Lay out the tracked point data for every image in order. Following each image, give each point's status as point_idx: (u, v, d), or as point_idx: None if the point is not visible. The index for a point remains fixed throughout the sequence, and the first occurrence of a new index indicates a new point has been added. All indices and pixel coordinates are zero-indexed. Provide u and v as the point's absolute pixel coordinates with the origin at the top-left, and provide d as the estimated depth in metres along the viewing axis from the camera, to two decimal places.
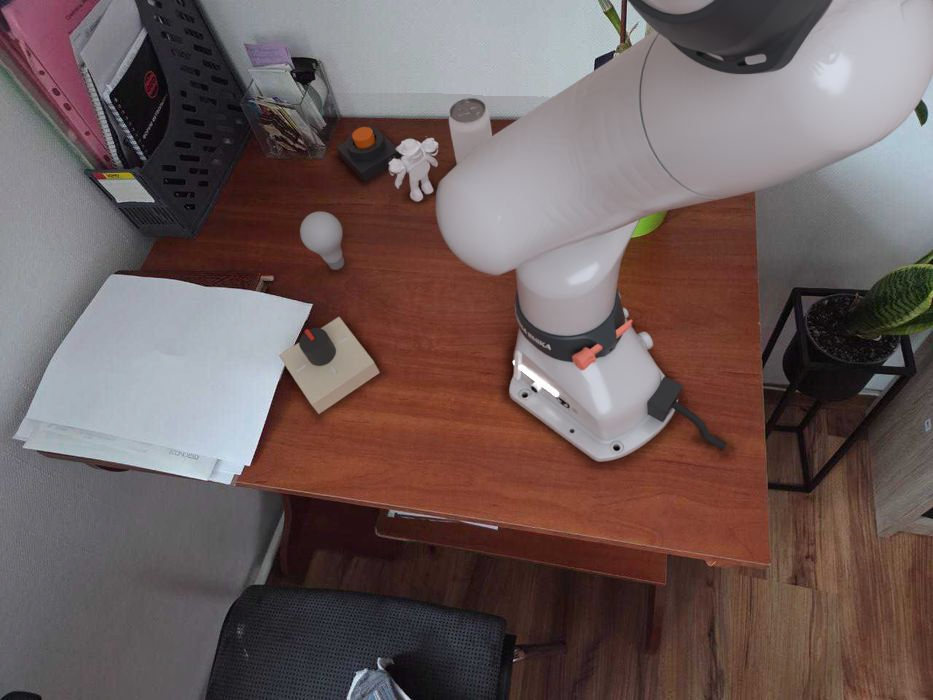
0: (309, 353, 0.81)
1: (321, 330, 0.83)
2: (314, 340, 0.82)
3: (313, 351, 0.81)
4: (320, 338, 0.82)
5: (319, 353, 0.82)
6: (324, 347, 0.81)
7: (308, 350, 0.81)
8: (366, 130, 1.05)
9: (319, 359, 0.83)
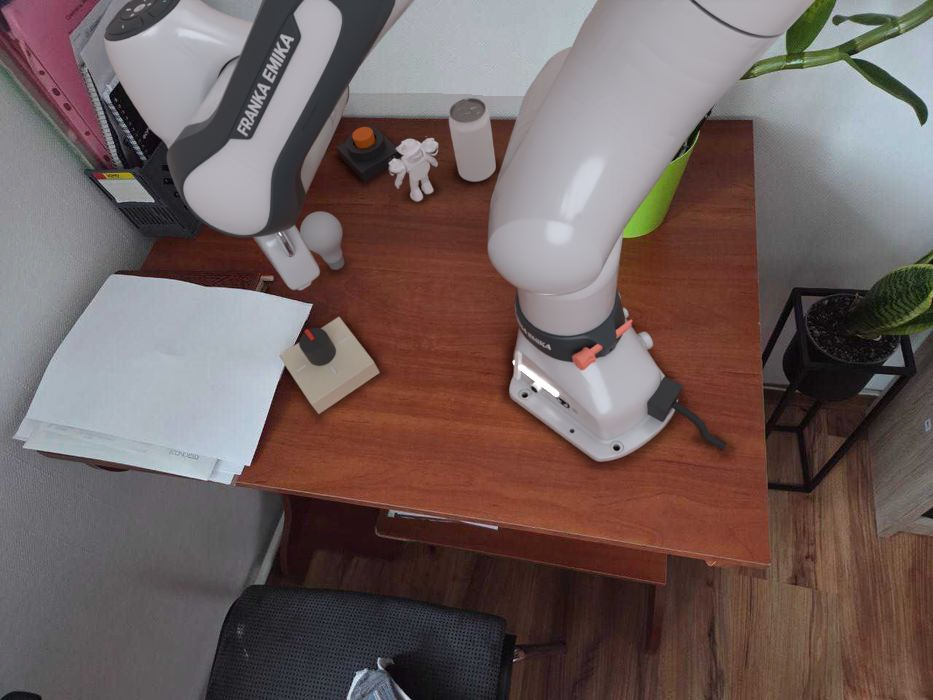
0: (309, 353, 0.81)
1: (321, 330, 0.83)
2: (314, 340, 0.82)
3: (313, 351, 0.81)
4: (320, 338, 0.82)
5: (319, 353, 0.82)
6: (324, 347, 0.81)
7: (308, 350, 0.81)
8: (366, 130, 1.05)
9: (319, 359, 0.83)
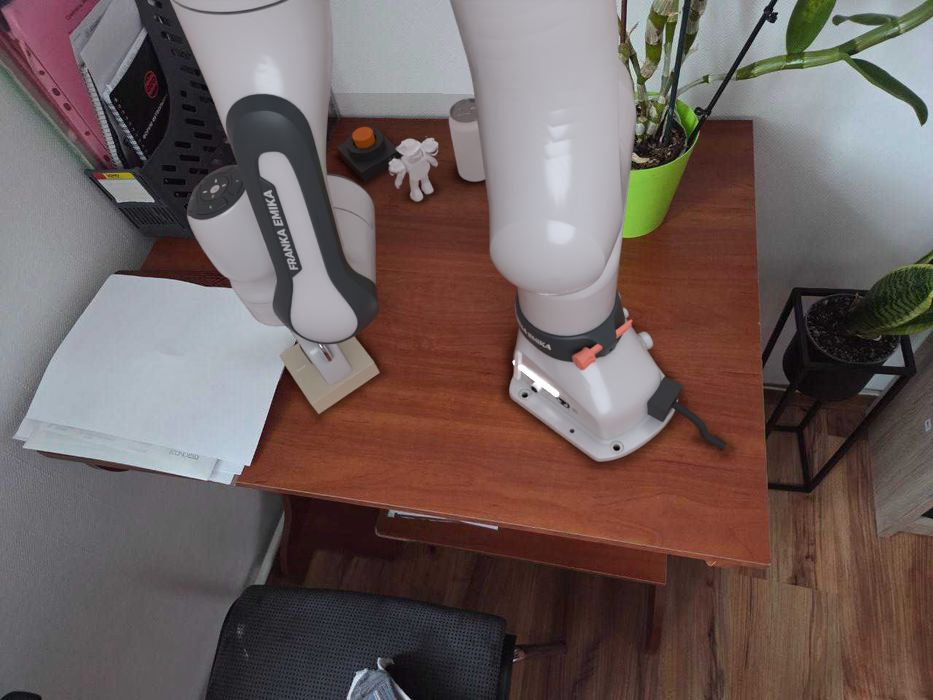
0: None
1: None
2: None
3: None
4: None
5: None
6: None
7: None
8: (366, 130, 1.05)
9: None
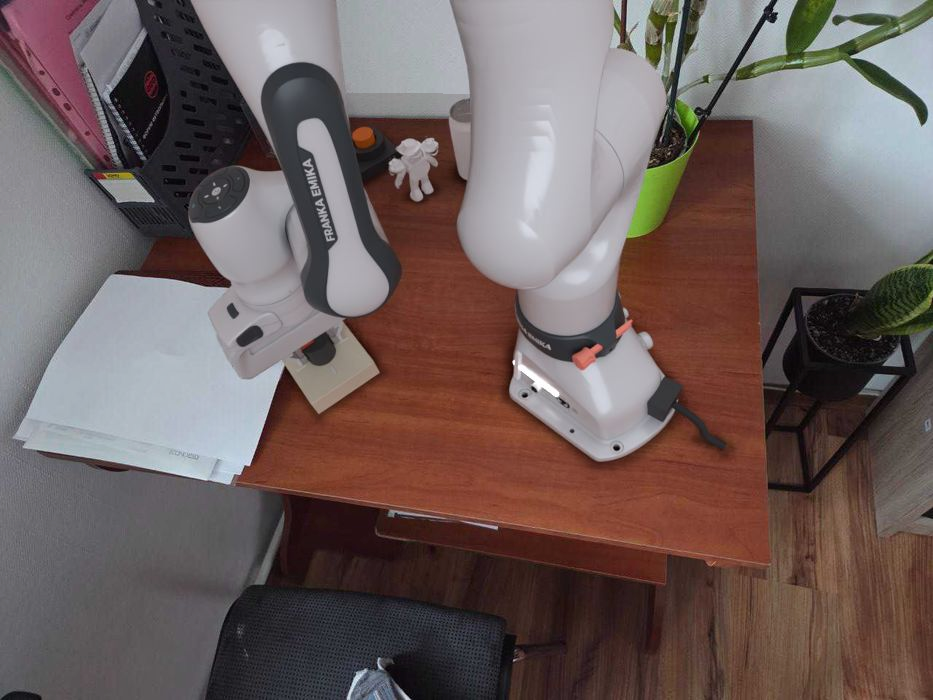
0: (327, 341, 0.82)
1: None
2: (313, 339, 0.82)
3: (326, 336, 0.82)
4: None
5: (328, 336, 0.83)
6: None
7: (324, 341, 0.82)
8: (366, 130, 1.05)
9: None
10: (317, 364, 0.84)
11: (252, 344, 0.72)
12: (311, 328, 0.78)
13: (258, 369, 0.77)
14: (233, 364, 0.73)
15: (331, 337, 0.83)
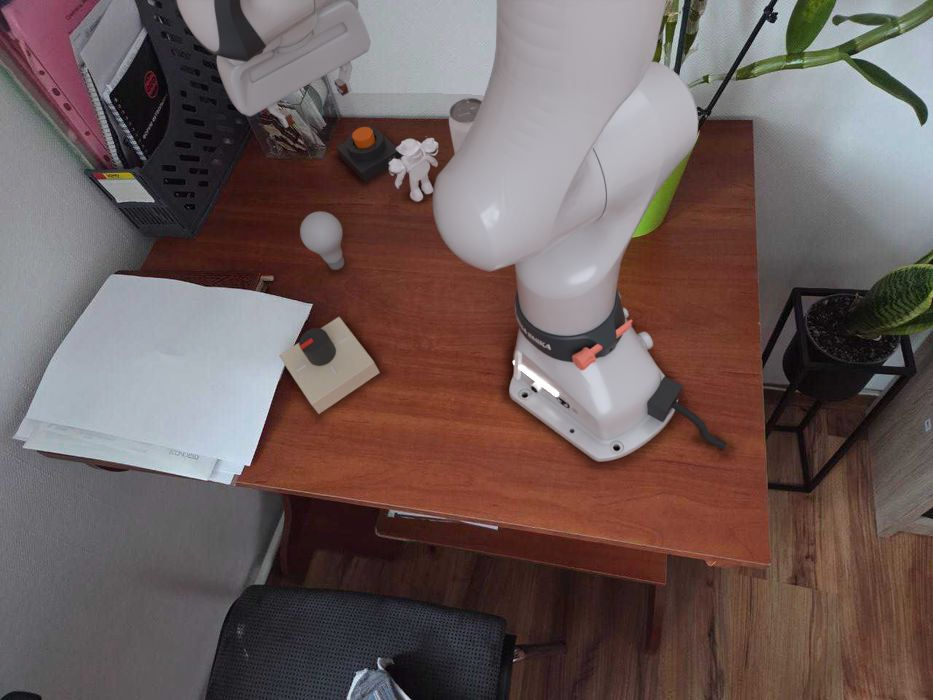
0: (327, 341, 0.82)
1: (303, 335, 0.83)
2: (313, 339, 0.82)
3: (326, 336, 0.82)
4: (312, 334, 0.83)
5: (328, 336, 0.83)
6: None
7: (324, 342, 0.82)
8: (366, 130, 1.05)
9: None
10: (317, 364, 0.84)
11: (252, 63, 0.74)
12: (309, 66, 0.80)
13: (258, 104, 0.79)
14: (234, 86, 0.75)
15: (340, 84, 0.86)
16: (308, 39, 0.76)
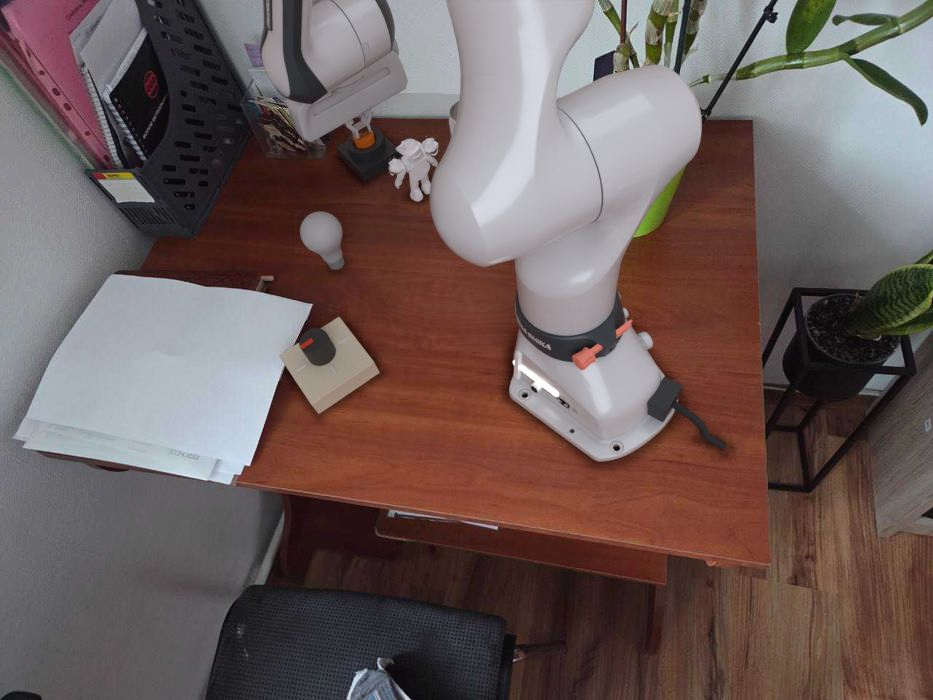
0: (327, 341, 0.82)
1: (303, 335, 0.83)
2: (313, 339, 0.82)
3: (326, 336, 0.82)
4: (312, 334, 0.83)
5: (328, 336, 0.83)
6: None
7: (324, 342, 0.82)
8: None
9: None
10: (317, 364, 0.84)
11: (316, 101, 0.93)
12: (358, 102, 0.99)
13: (317, 132, 0.98)
14: (300, 119, 0.94)
15: (362, 126, 1.04)
16: (359, 81, 0.95)
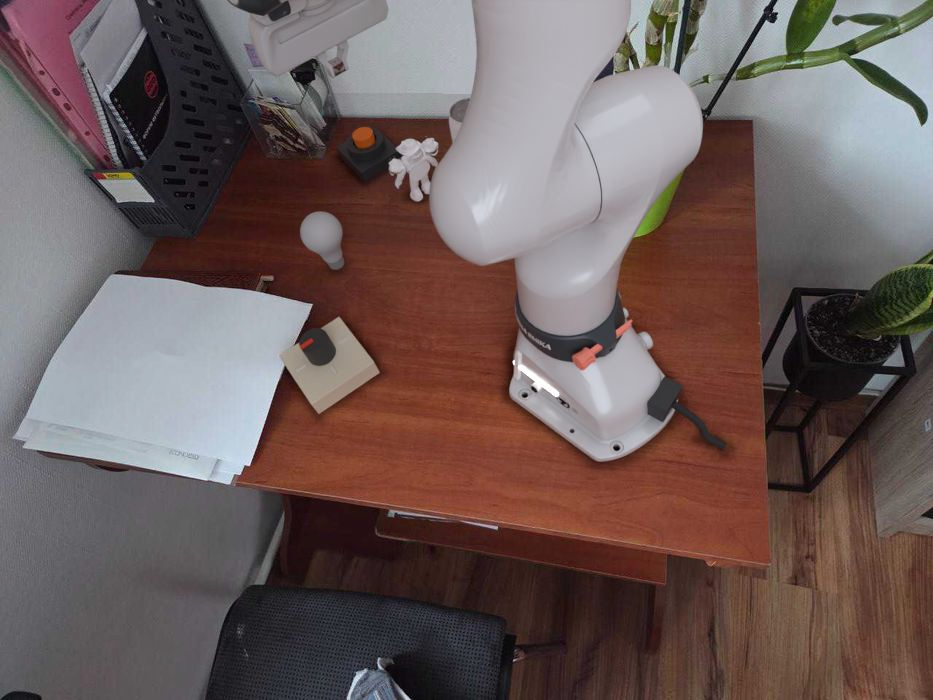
0: (327, 341, 0.82)
1: (303, 335, 0.83)
2: (313, 339, 0.82)
3: (326, 336, 0.82)
4: (312, 334, 0.83)
5: (328, 336, 0.83)
6: None
7: (324, 342, 0.82)
8: (366, 130, 1.05)
9: None
10: (317, 364, 0.84)
11: (280, 24, 0.81)
12: (331, 30, 0.87)
13: (284, 64, 0.86)
14: (263, 46, 0.82)
15: (337, 62, 0.92)
16: (331, 3, 0.83)
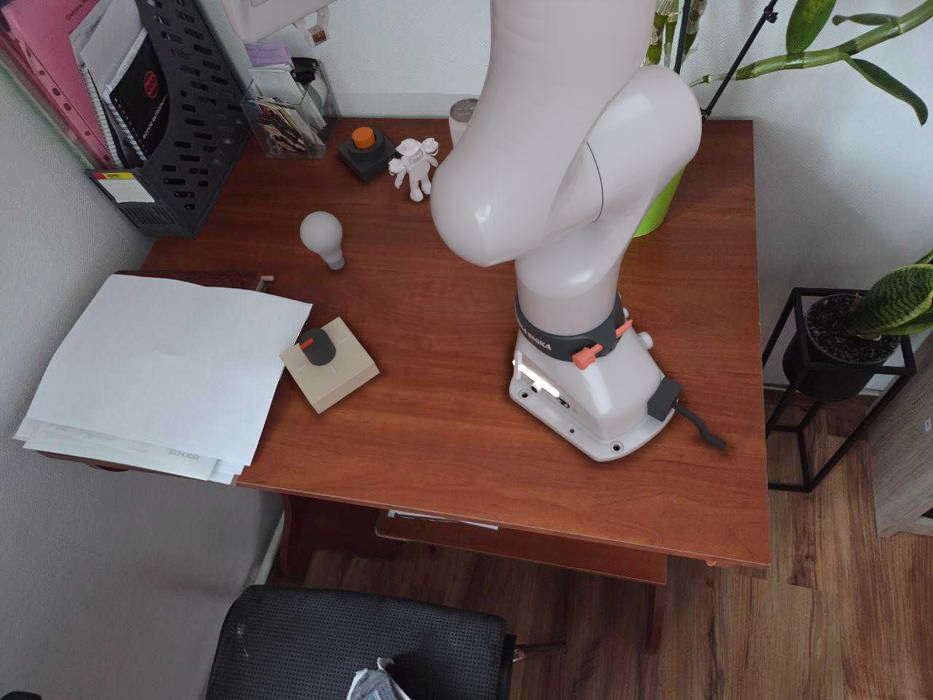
0: (327, 341, 0.82)
1: (303, 335, 0.83)
2: (313, 339, 0.82)
3: (326, 336, 0.82)
4: (312, 334, 0.83)
5: (328, 336, 0.83)
6: None
7: (324, 342, 0.82)
8: (366, 130, 1.05)
9: None
10: (317, 364, 0.84)
11: None
12: None
13: (258, 31, 0.78)
14: (234, 9, 0.75)
15: (317, 30, 0.84)
16: None
